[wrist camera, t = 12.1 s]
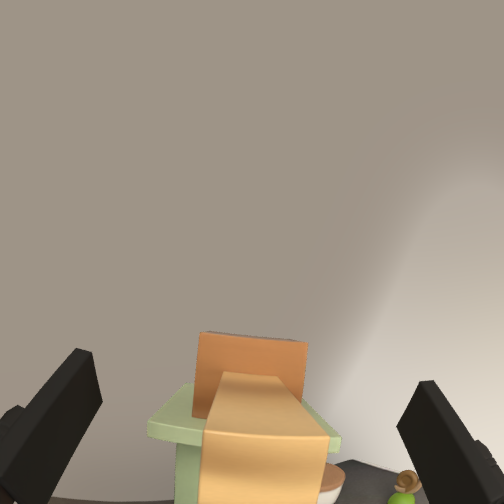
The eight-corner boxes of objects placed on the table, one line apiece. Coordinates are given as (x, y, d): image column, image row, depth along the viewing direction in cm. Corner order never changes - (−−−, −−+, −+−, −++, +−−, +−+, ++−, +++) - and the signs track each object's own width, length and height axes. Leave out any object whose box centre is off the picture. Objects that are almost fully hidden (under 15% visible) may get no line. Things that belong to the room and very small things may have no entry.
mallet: (363, 521, 5) (398, 356, 6) (139, 511, 5) (145, 335, 6) (283, 403, 21) (290, 339, 22) (203, 395, 21) (209, 331, 22)
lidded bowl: (275, 527, 34) (284, 479, 37) (266, 494, 46) (273, 451, 49) (344, 521, 35) (357, 474, 38) (325, 492, 47) (334, 450, 50)
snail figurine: (407, 524, 30) (425, 471, 33) (378, 516, 35) (394, 465, 38) (419, 511, 33) (435, 461, 36) (392, 505, 38) (406, 456, 41)
